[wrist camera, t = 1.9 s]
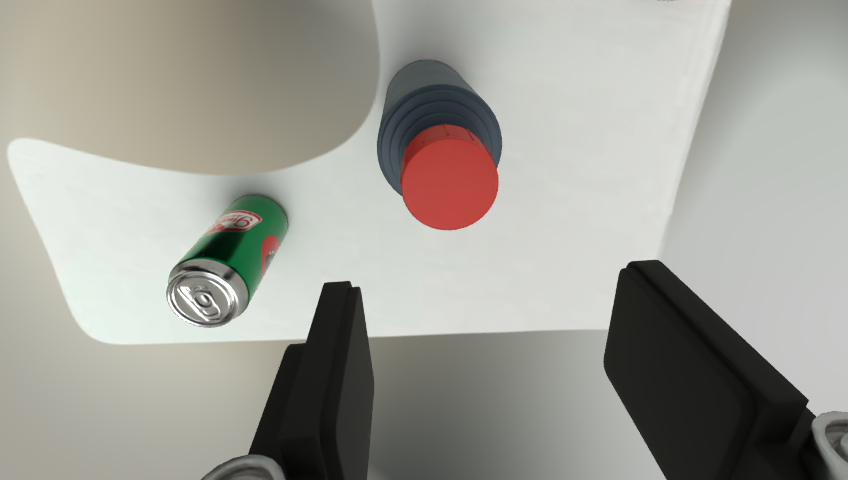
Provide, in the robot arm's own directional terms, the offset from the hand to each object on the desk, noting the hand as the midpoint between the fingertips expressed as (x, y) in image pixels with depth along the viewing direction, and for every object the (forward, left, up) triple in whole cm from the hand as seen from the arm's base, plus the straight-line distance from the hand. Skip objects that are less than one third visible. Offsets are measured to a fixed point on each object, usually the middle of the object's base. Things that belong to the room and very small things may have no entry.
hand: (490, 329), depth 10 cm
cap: (0, 0, -9) cm, 9 cm away
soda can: (-7, -16, -27) cm, 32 cm away
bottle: (0, 0, -27) cm, 27 cm away
